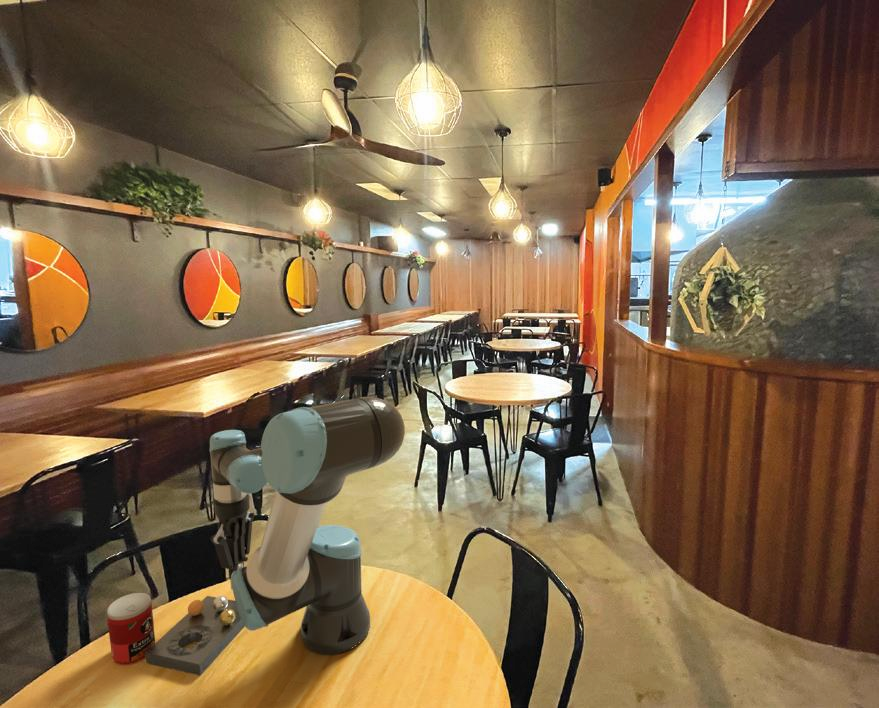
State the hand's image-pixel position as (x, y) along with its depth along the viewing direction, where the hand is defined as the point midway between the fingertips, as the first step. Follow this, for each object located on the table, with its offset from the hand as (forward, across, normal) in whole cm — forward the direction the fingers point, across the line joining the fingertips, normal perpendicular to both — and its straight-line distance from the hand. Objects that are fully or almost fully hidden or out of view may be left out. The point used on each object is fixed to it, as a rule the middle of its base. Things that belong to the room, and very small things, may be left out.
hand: (237, 588), depth 114 cm
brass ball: (0, +10, +5) cm, 11 cm away
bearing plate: (+4, +12, 0) cm, 12 cm away
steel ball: (0, +6, 0) cm, 6 cm away
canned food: (+4, +19, -11) cm, 22 cm away
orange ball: (0, +9, -4) cm, 10 cm away
